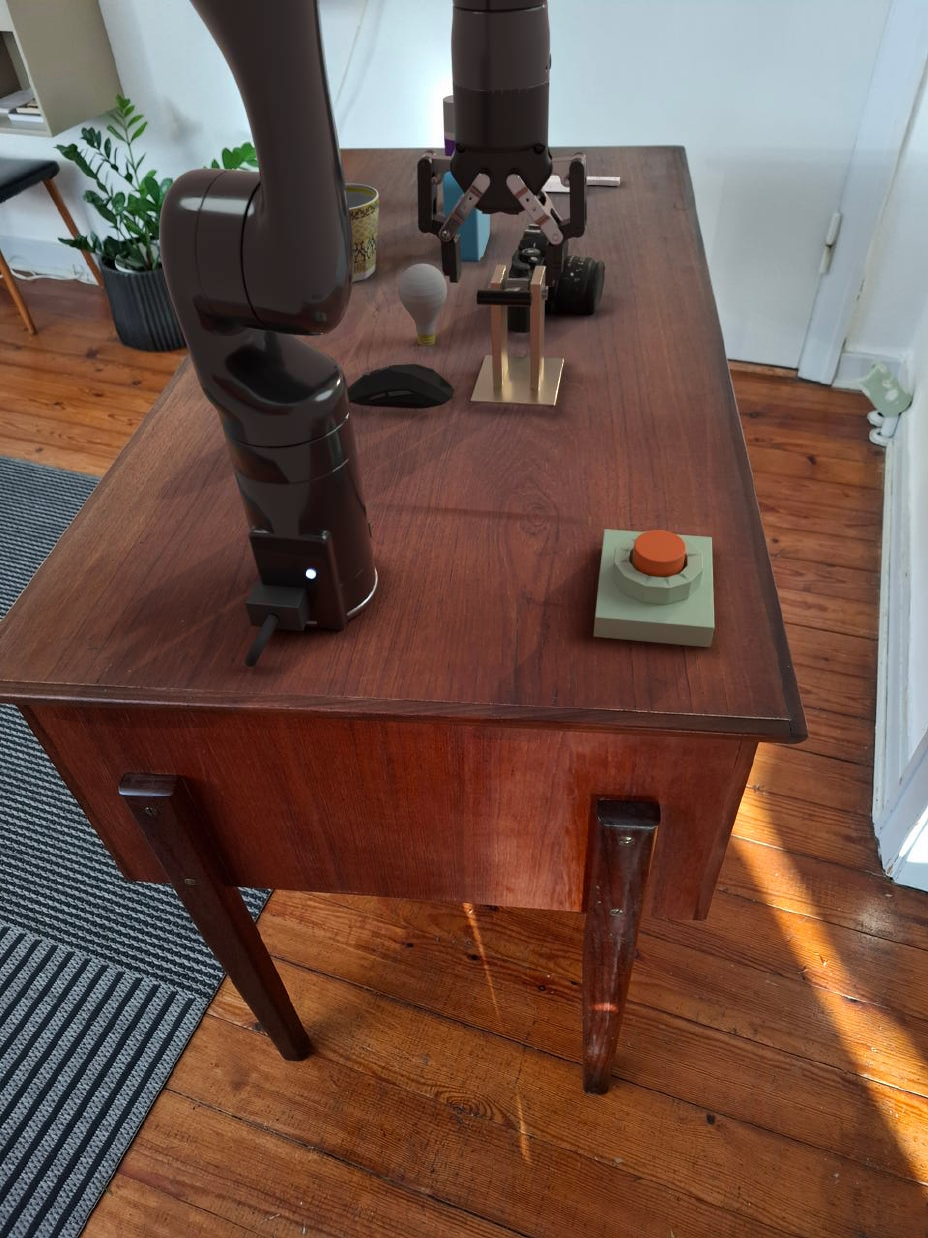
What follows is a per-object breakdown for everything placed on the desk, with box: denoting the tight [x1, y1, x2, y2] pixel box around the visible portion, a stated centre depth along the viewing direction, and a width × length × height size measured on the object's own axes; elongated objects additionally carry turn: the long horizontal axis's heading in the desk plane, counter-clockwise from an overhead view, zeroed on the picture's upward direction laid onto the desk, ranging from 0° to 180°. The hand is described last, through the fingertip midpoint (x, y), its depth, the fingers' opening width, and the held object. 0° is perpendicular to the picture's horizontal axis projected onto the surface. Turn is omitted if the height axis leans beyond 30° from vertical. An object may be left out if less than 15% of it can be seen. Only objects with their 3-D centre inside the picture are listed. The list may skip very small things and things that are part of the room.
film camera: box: [507, 223, 606, 334], centre depth 108 cm, size 18×12×10 cm
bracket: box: [470, 264, 565, 407], centre depth 94 cm, size 10×9×13 cm
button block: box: [593, 528, 715, 648], centre depth 72 cm, size 11×9×4 cm
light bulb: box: [398, 263, 448, 346], centre depth 102 cm, size 6×6×10 cm
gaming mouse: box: [347, 363, 455, 409], centre depth 97 cm, size 6×15×4 cm, turn 84°
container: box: [442, 94, 455, 156], centre depth 134 cm, size 5×5×15 cm
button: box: [632, 529, 686, 578], centre depth 71 cm, size 4×4×2 cm
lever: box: [476, 278, 532, 307], centre depth 87 cm, size 12×5×2 cm, turn 170°
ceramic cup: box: [345, 183, 380, 283], centre depth 120 cm, size 13×10×10 cm
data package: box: [442, 150, 491, 262], centre depth 122 cm, size 12×4×12 cm, turn 172°
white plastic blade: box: [543, 175, 621, 193], centre depth 142 cm, size 5×15×1 cm, turn 78°
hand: (502, 281), depth 80 cm, fingers open, 8 cm apart
